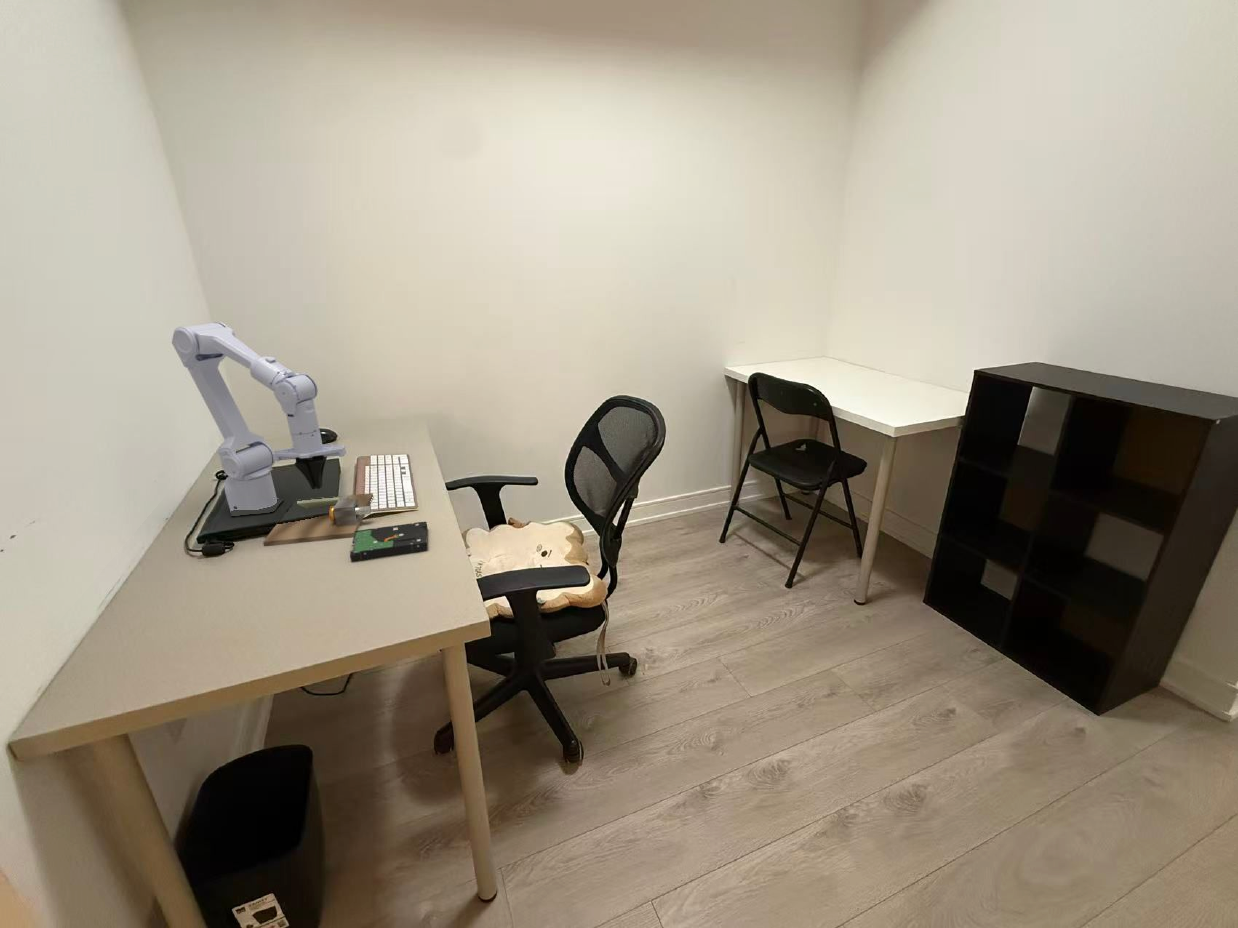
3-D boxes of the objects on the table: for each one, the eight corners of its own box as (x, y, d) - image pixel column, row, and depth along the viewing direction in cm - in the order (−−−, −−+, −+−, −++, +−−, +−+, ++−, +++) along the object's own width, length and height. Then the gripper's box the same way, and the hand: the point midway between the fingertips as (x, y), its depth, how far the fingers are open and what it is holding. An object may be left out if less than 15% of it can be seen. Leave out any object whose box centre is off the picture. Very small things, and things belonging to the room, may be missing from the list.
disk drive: (428, 531, 127) (356, 541, 123) (426, 520, 126) (354, 529, 122) (428, 553, 118) (351, 564, 114) (426, 541, 117) (348, 552, 113)
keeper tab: (296, 504, 129) (296, 500, 129) (306, 509, 135) (306, 505, 135) (339, 500, 130) (339, 496, 131) (347, 505, 137) (347, 501, 137)
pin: (330, 523, 127) (327, 509, 126) (334, 517, 130) (331, 503, 129) (369, 519, 128) (367, 506, 127) (372, 513, 131) (370, 500, 130)
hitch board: (264, 546, 121) (258, 523, 119) (296, 503, 141) (291, 483, 139) (354, 536, 124) (349, 514, 122) (373, 496, 144) (369, 477, 142)
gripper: (262, 438, 120) (276, 497, 125) (335, 433, 123) (347, 491, 128) (273, 429, 126) (287, 485, 131) (343, 424, 129) (353, 479, 134)
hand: (317, 487), depth 130 cm, fingers closed
